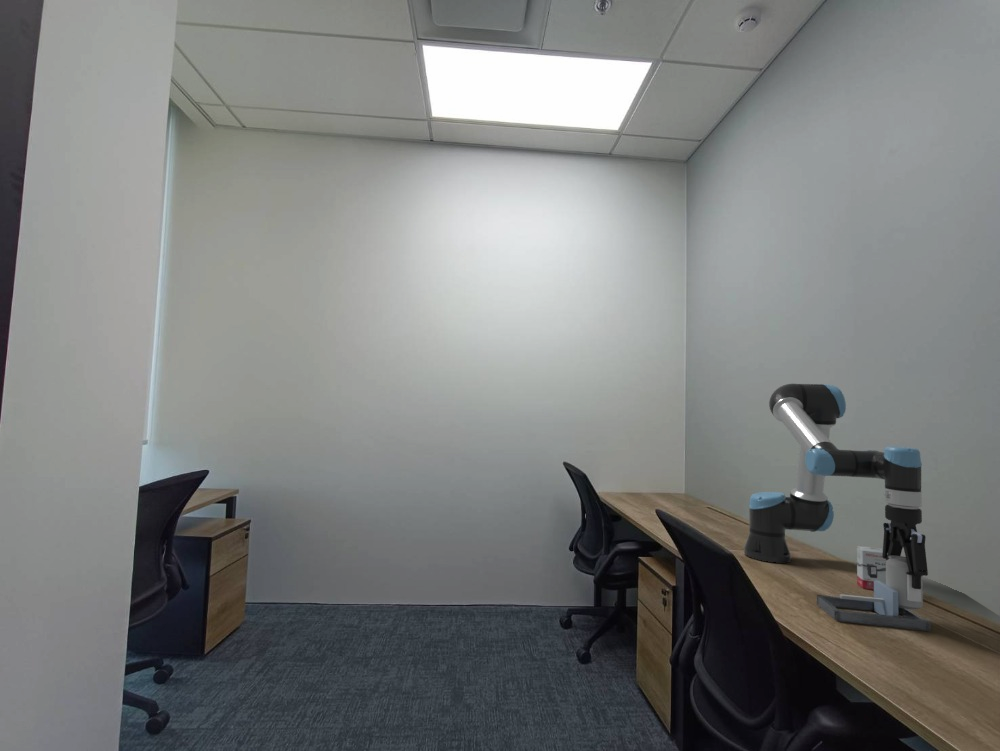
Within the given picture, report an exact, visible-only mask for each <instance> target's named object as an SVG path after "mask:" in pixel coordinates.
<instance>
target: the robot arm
mask: <svg viewBox="0 0 1000 751" xmlns="http://www.w3.org/2000/svg"><path fill="white" fill-rule="evenodd" d="M846 403H847V402H846V399H845V396H844V394H843V391H841V389H840V387H838V386H835V385H831V384H824V383H823V384H822V383H812V384H811V383H787V384H784V385H780V386H779V387H778V388H776V389H775V390H774V391H773V392H772V394H771V395H770V398H769V402H768V404H769V405H768V406H769V410H770V413H771V414H772V416H773V417H774V418H775V419H776V420H777V421H779V422H782V424H783V425H784V426H785V427H786V428H787V430H788V431H789V432H790V434H791V435H792V437H794V439H795V441H796V442H797V443H798V444H799V453H798V459H797V469H796V470H797V472H796V479H795V480H796V481H795V487H794V488H792V489H791V490H790V494H789V496H786V495H785V493H783V492H779V491H764V492H763V491H762V492H756V493H752V494H751V495H750V497H749V505H748V508H749V510H748V511H749V521H748V522H749V526H748V527H749V530H748V531H749V532H748V535H747V539H746V541H745V544H744V547H743V548H744V549H743V554H744V553H745V554H746V555H748V556H750V557H752V558H751V559H753V558H755V559H754V560H757V559H758V560H757V561H761V560H762V562H766V561H768V562H767V563H773V562H776V564H783V563H784V564H787V563H789V562H791V551H790V548H789V546H788V543H787V539H786V530H787V531H788V530H790V531H803V532H805V531H806V532H811V533H813V532H814V533H815V532H825V531H827V530H828V529H830V527H831V526H832V524H833V522H834V516H835V512H834V510H833V509H834V507H833V504H832V503H831V501H830V500H828V496H827V495H826V494H825V492H824V487H825V481H826V480H825V479H826V477H852V478H869V479H878V480H880V479H881V480H884V493H883V495H884V498H885V501H884V502H885V503H886V505H885V506H884V515H885V516H884V517H885V519H886V520H888V521H890V522H883V523H882V524H883V525H882V526H883V541H882V542H883V544H882V549H883V554H882V557H883V558H884V559H886V561H887V560H888V559H889V556H902V551H903V552H904V557H906V560H907V565H908V569H909V572H906V574H907V600H909V601H917V602H921V576H922V577H923V576H926V577H927V576H928V575H929V572H928V563H927V561H928V560H927V554H926V553H927V552H926V539H927V538H926V535H925V534H920V533H919V532H918V530H917V525H918V524H919V525H920V524H922V522H923V517H922V514H923V511H922V509H921V507H923V501H922V500H923V498H922V466H923V462H922V460H921V459H922V458H921V452H920V450H919V449H917V448H914V447H906V446H905V447H903V446H886V447H885V448H884V452H883V451H879V450H851V449H838V448H837V446H836V445H835V444H834V443H833V442H832V441H831V440H830V434H831V433H830V432H831V428H833V427H834V426H836V424H837V419H841V418H842V417H844V415H845V414H846V409H847V408H846V406H847V404H846ZM887 553H888V554H887ZM745 554H744V555H745ZM746 555H745V556H746ZM748 556H747V557H748ZM750 557H749V558H750ZM786 562H787V563H786Z"/></svg>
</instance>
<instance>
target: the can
mask: <svg viewBox="0 0 1000 751" xmlns="http://www.w3.org/2000/svg"><path fill="white" fill-rule="evenodd" d="M906 572H909V569H908V565H907V560H906V556H903V555H901V556H889V559H888V560H887V561H886V585H887V586H888V587H890V588H892V589H893V590H895V591H897V592H898V607H901V608H905V609H909V610H911V611H914V610H915V611H916V610H917V611H918V610H920V608H923V607H924V595H923V594H924V593H923V590H924V588H923V586H924V585H923V576H921V602H917V601H909V600H907V574H906Z"/></svg>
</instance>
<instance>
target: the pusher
mask: <svg viewBox="0 0 1000 751" xmlns="http://www.w3.org/2000/svg"><path fill="white" fill-rule="evenodd" d="M839 597H840V598H841V599H850V600H860V601H870V602H874V611H873V612H876V614H881V615H891V616H899V614H898V592H897V591H895V590H893V589H892V588H890V587H888V586H887V585H885V584H883V583H882V582H880V581H876V580H874V590H873V597H872V596H861V595H853V594H852V595H851V594H841V593H840V594H839Z"/></svg>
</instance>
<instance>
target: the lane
mask: <svg viewBox="0 0 1000 751" xmlns="http://www.w3.org/2000/svg"><path fill="white" fill-rule="evenodd" d="M816 605H818V607H819V608H821V609H822V610H823V611H824V612H825V613H827V615H829V616H830V618H832V619H833V620H834V621H836V622H839V623H841V622H842V623H849V624H861V625H868V626H875V627H876V626H877V627H887V628H895V629H906V630H912V631H913V630H914V631H915V630H916V631H923V632H925V631H926V632H931V630H932V629H931V626H932V625H931V622H932V621H931V620H930V619H927V618H923V617H921V616H920V615H918V614H917V613H915V612H913V610H910V609H905V608H901V607H898V616H891V615H881V614H878V613H869V612H875V611H874V602H870V601H860V600H850V599H841V598H840V596H831V595H821V594H816ZM838 608H840V609H838ZM842 609H849V610H842ZM851 610H857V611H851ZM862 611H869V612H862ZM899 615H901V616H899Z"/></svg>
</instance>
